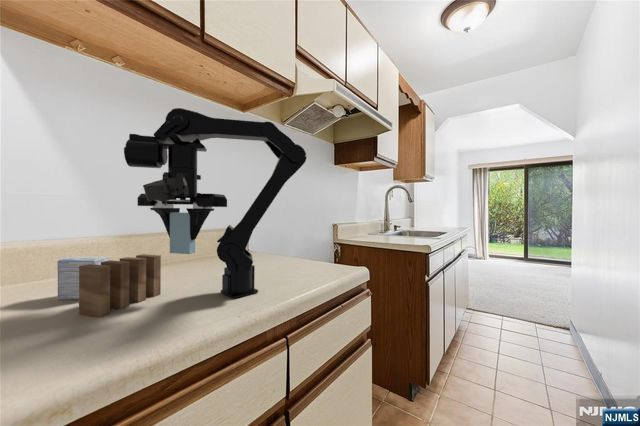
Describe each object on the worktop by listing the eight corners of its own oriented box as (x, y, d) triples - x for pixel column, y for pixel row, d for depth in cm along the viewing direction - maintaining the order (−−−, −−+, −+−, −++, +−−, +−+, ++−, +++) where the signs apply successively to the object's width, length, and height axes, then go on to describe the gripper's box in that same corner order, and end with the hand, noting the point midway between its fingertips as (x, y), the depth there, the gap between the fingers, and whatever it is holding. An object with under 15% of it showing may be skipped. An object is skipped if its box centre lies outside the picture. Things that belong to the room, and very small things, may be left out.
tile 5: (89, 310, 50) (89, 264, 50) (110, 313, 49) (110, 265, 49) (79, 314, 48) (79, 266, 48) (99, 317, 47) (99, 267, 47)
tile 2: (142, 292, 61) (143, 254, 61) (160, 294, 60) (160, 255, 60) (135, 294, 59) (136, 255, 59) (153, 296, 58) (154, 256, 58)
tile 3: (127, 297, 57) (127, 257, 57) (145, 299, 56) (146, 258, 56) (119, 300, 56) (119, 258, 55) (138, 302, 54) (138, 260, 54)
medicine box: (110, 293, 60) (110, 256, 60) (94, 300, 55) (94, 259, 55) (75, 293, 60) (75, 255, 60) (56, 300, 55) (56, 259, 55)
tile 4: (109, 303, 54) (110, 260, 53) (129, 306, 52) (129, 261, 52) (100, 306, 52) (100, 262, 52) (120, 309, 51) (120, 263, 51)
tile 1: (175, 251, 59) (175, 212, 59) (195, 252, 58) (195, 212, 58) (169, 253, 58) (169, 212, 57) (189, 254, 57) (189, 212, 57)
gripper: (113, 164, 52) (113, 242, 52) (196, 162, 48) (195, 245, 48) (158, 172, 63) (158, 236, 63) (228, 170, 59) (228, 239, 59)
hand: (182, 239), depth 58 cm, fingers closed on tile 1, 5 cm apart
